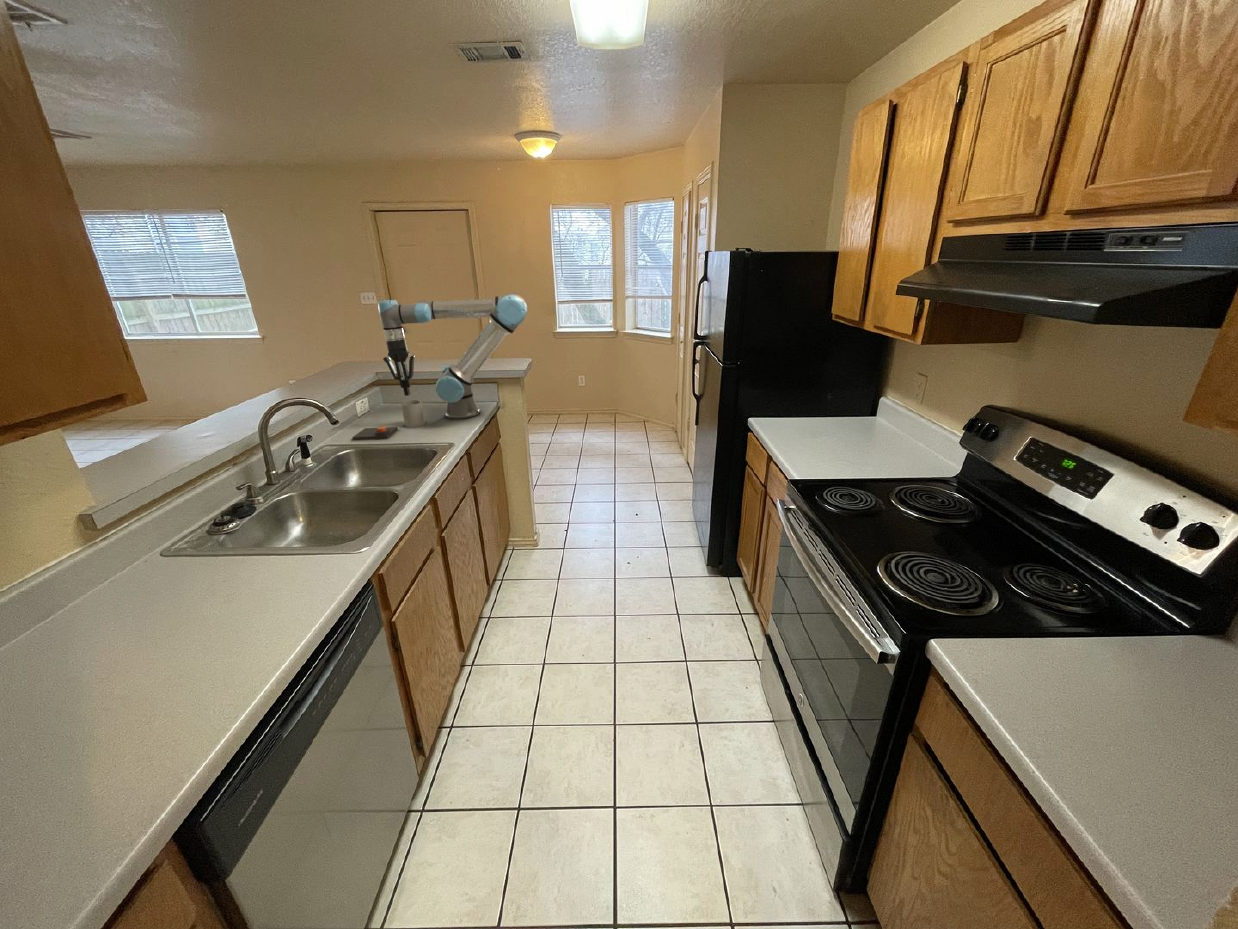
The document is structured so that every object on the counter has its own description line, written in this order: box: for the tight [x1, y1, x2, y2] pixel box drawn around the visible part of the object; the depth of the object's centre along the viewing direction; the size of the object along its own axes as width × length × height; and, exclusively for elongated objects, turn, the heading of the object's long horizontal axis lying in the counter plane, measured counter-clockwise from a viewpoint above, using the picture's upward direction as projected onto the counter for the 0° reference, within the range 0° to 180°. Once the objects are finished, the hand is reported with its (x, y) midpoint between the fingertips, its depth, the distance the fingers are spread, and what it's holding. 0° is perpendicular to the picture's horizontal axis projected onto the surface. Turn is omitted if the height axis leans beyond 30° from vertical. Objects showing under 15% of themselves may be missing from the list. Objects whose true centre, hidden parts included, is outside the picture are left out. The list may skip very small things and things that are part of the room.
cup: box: [400, 399, 426, 428], centre depth 224 cm, size 8×8×10 cm
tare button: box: [377, 426, 387, 432], centre depth 209 cm, size 3×3×2 cm
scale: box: [352, 426, 399, 441], centre depth 213 cm, size 14×12×3 cm
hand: (407, 394), depth 219 cm, fingers closed
